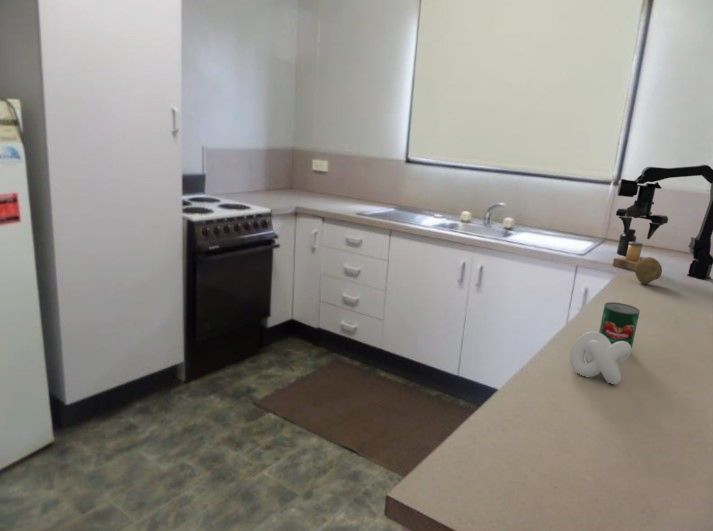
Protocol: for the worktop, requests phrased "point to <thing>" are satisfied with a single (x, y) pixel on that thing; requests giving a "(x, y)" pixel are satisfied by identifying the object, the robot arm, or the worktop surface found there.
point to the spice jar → (634, 251)
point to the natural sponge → (647, 270)
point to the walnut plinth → (624, 263)
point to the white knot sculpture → (599, 356)
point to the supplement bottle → (625, 241)
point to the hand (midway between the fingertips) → (637, 236)
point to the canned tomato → (619, 322)
